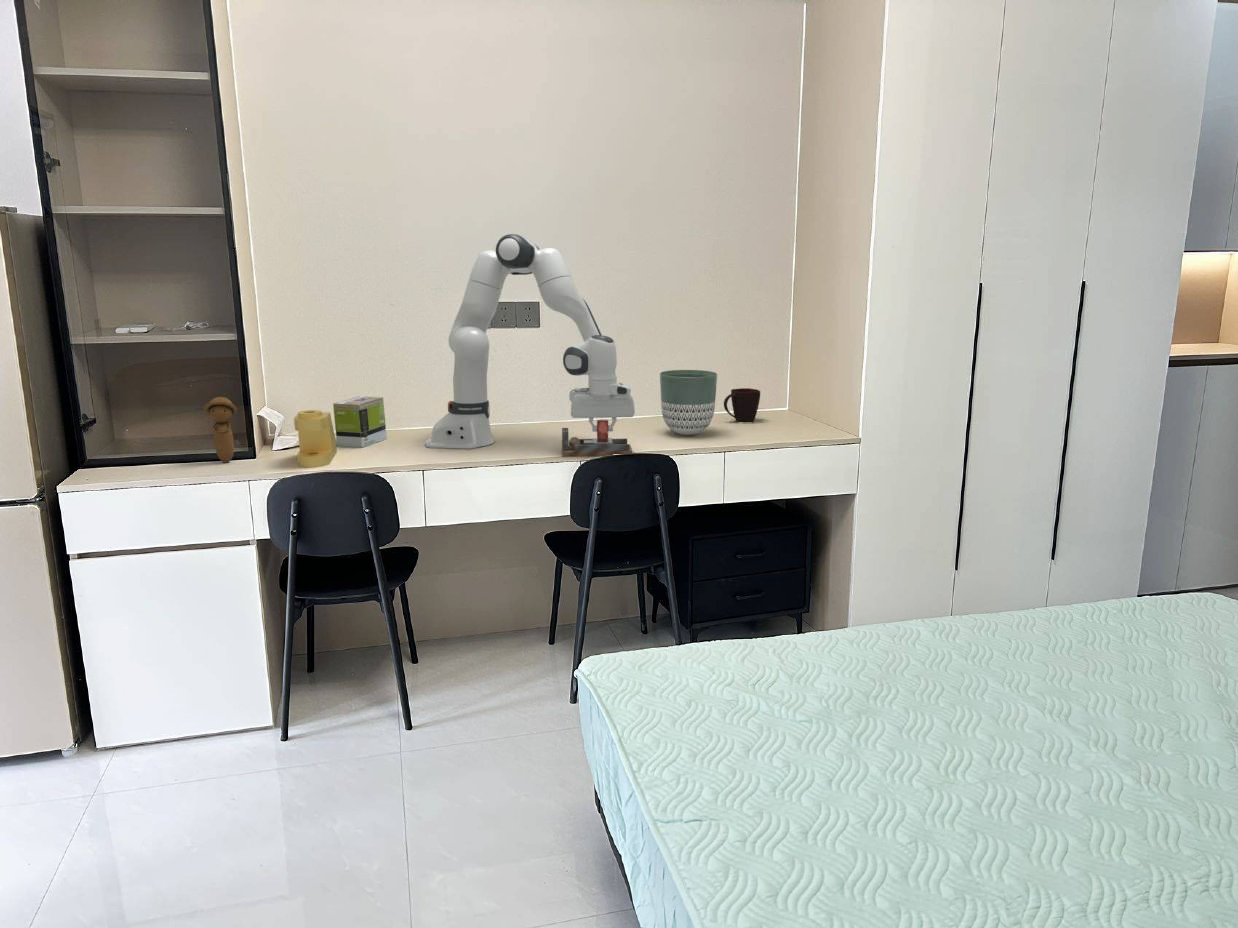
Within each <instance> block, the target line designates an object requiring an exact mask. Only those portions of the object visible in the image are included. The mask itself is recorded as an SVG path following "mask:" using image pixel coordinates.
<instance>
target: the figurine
mask: <svg viewBox="0 0 1238 928" xmlns="http://www.w3.org/2000/svg"><path fill="white" fill-rule="evenodd" d="M203 408H204V412H205V413H206V414H208V415H209V416H210V418H211V419H212V420H213V421H214V422H215V423H214V425H213V426H212V429H213V442H214V443H213V444H214V449H215V452H216V453H215V454H216V455H217V457H218V459H219V460H220V461H221V462H223V463H229V462H230V461H231V460H232V458H233V456H234V453H235V442H234V441H235V440H234V435H233V434H234V433H233V430H232V429H231V424H230V422H229V420H230V419H231V418H232V416H234V415H236V413H237V412H238V408H237V406H236V405H235V404H233V402H232V401H231V400H230V399H229V398H227V397H223V396H218V397H215V398H213V399H211V400H210V401H209V402H207V403H206V404H205V405H204V407H203Z"/></svg>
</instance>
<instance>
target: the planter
mask: <svg viewBox="0 0 1238 928" xmlns="http://www.w3.org/2000/svg"><path fill="white" fill-rule="evenodd" d="M659 383H660V384H659V385H660V406H661V414H662V418H663V422H664V423H665V425H666V427H668V428H669V429H670V430H671V431H672V432H674V433H675V434H678V435H681V436H694V435H699V434H700V433H702V432H704V430H706V429H707V428H708V427H709V425H710V424H711V422H712V420H713V418H714V414H715V407H716V398H717V397H716V395H717V385H718V373H717V372H714V371H712V370H711V371H710V370H700V369H673V370H672V369H671V370H665V371H660V373H659Z"/></svg>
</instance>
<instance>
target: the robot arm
mask: <svg viewBox="0 0 1238 928" xmlns="http://www.w3.org/2000/svg"><path fill="white" fill-rule="evenodd" d="M510 274H511V275H514V276H516V275H517V276H520V275H521V276H524V275H525V276H526V275H531V274H532V275H533V276H534V278H535V281H536V284H537V288H538V291H539V293H540V297H541V299H542V301H543V302H544V304H545V306H547V307H548V308H549V309H550V310H553V311H554V312H557V313H561V314H562V315H564V316H567V317H568V318H570V319H571V320H572V321H573V322H574V323H575V325H576V327H577V329H578V331H579V333H580V335H581V337H582V339H583V342H581V343H578V344H575V345H572V346H569V347H567V348H566V349H565V351H564V353H563V356H562V363H563V367H564V369H565V371H566V372H567V373H568V374H569V375H571V376H576V377H579V376H586V375H587V376H588V379H587V380H588V381H587V382H588V384H587V385H588V387H582V388H578V387H575V388H573V389H572V390H570V391H569V396H568V397H569V401H570V402H571V403H570V404H571V405H570V416H571V417H572V418H573V419H582V418H583V419H584V418H585V419H588V422H589V423H590V425H591V427H592V432H595V433H597V424H596V425H595V424H594V418H597V419H599V418H600V419H602V418H611V421H612V422H611V424H608V432H614V426H615V425H616V422H617V420H618V419H617V418H633V417H634V416H635V414H636V413H635V403H634V397H633V396H632V395H631V391H632V390H631V387H630V385H628V384H625V383H622V382H618V381H617V379H618V378H617V373H616V368H617V362H618V361H617V347H616V342H615V341H614V339H613V338H612V337H610V336H608V335H607V336H606V335H602V333H601V331H600V328H599V326H598V324H597V322H596V319H595V317H594V315H593V313H592V311H591V309H590V306H589V305H588V303H587V301H586V300H585V299H584V297H582V295H581V294H580V293H579V291H578V289H577V288H576V285H575V282H574V281H573V278H572V276H571V272H570V270H569V267H568V265H567V262H566V261H565V259H564V257H563V255H562V254H561V252H560V250H558V249H556V248H554V247H545V248H542V249H540V248H539V246H538V245H536V244H535V243H534V242H532V241H531V240H530V239H528V238H526V237H523V236H521V235H519V234H516V233H509V234H505V235H504V236H502V237H501V238H500V239H498V241H497V243H496V245H495V250H490V249H488V250H484V251H481V252H480V253H479V254H478V255H477V258H476V259H475V262H474V263H473V267H472V269H471V271H470V274H469V278H468V281H467V284H466V287H465V290H464V291H465V292H464V295H463V298H462V301H461V304H460V306H459V309H458V311H457V314H456V316H455V319H454V321H453V324H452V327H451V330H450V333H449V335H448V346H449V348H450V350H451V351H452V353H454V360H453V361H454V364H453V376H452V387H453V388H452V389H453V392H452V393H453V400H449V401H448V403H447V412H448V413H446V415H444V416H443V417H442V418H441V419H439V420H438V421H437V422H436V423H435V424H434V425H433V427H432V431H431V437H429V438H427V439H426V440H425V443H424V445H425V447H427V448H431V449H432V448H433V449H434V448H437V449H465V450H466V449H467V450H468V449H471V450H472V449H476V448H480V447H485V446H489V445H491V444H494V442H495V440H494V438H493V434H492V431H491V425H490V424H491V423H490V414H491V413H490V412H491V411H490V410H491V409H490V401H489V399H488V369H489V367H488V366H489V354H490V339H489V337H488V336H487V334H486V333H487V331H488V328H489V326H490V324H491V322H492V319H493V318H494V315H495V314H496V311H497V309H498V308H497V307H498V305H499V301H500V298H501V295H502V291H503V287H504V284H505V281H506V278H507V276H510Z"/></svg>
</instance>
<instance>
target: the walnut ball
mask: <svg viewBox="0 0 1238 928" xmlns="http://www.w3.org/2000/svg"><path fill="white" fill-rule="evenodd" d="M579 439H580V438H578V437H575V436H574V437H571V438H570V439H569V445H570V446H575V445H580V440H579Z"/></svg>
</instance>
